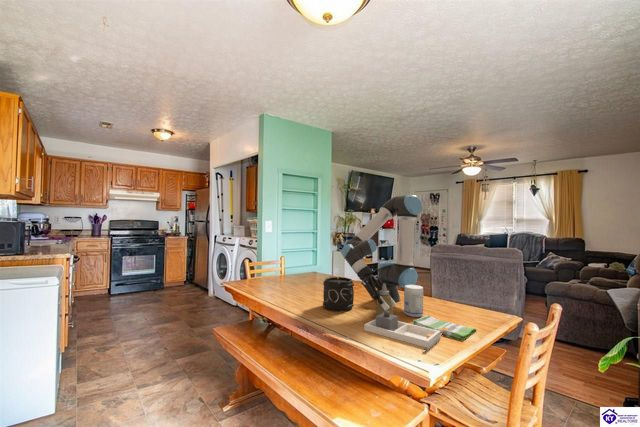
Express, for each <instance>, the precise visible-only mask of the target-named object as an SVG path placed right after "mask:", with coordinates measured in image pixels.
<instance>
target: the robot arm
mask: <svg viewBox="0 0 640 427" xmlns="http://www.w3.org/2000/svg"><path fill="white" fill-rule="evenodd" d="M422 211H423V203H422V200H421V199H420V198H419V196H417V195H415V194H414V195H413V194H407V195H398V196H397V195H396V196H394V197H392V198H390V199H389V200H388V201H386V202H385V203H384V204H383V205H382V206H381V207H380V208H379V211H378V212H377V213H376V214H375V215H374V216H373V217H372V218H371V219H370V220H369V221H368V222H367V223H366V224H365V225H364V226H363V227H362V228H361V229H360V230H359V231H358V232H357V233H356V234H355V235H354V236H353V237H352V238H351V239H347V240H345V242H344V244H343V247H342V249H341V250H340V253H341V256H342V257H343V258H344V260H346V262H347V264H348V265H349V266H350V267H351V269H352V270H353V272H354V273H355V274H356V275H357V277H358V278H359V280H360V281H361V285H362V286H363V287H364V288H365V290H366V291H367V293H368V294H369V296H370V298H371V299H372V300H374V301H376V302H377V301H378V302H379V303H380V305H381V306H382V307H383V309H384V310H385V311H386V310H387V309H389V308H390V307H389V306H388V304H387V303H386V302H385V301H384V299H383V298H382V297H381V296H379V295H380V294H379V291H380V290H382V286H383V283H385V284H386V288H387V290H388V291H389V295H390V296H391V302H392V309H393V308H395V306H396V305H397V303H398V302H400V301H401V296H400V292H399V289H398V287H400V288H405V286H406V285H416V283H417V281H418V277H419V275H418V272H417V270H416V269H415V264H414V263H413V247H414V245H413V244H414V230H415V222H416V220H417V219H418V215H420V213H421V212H422ZM394 217H397V219H398V235H397V236H398V237H397V248H396V250H397V251H396V260H395V261H391V262H389V261H387V262H380V263H379V264H378V265H377V276H374V275H373V274H372V273H373V270H372V269H371V268H370V267H369V266H368V264H367V263H366V261H365V260H364V259H363V258H365V257H367V256H369V255H371V254H373V253H374V252H376V251H377V247H378V246H377V243H376V242H375V240H373V239H372V237H373V236H374V235H375V234H376V233H377V232H378V231H379V230H380V229H381V228H382V226H384V225H385V224H386V223H387V221H388V220H390V221H391V220H392V219H393V218H394Z"/></svg>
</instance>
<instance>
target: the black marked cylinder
mask: <svg viewBox="0 0 640 427" xmlns="http://www.w3.org/2000/svg"><path fill="white" fill-rule="evenodd" d="M322 284H323V301H322V306H323V307H324V309H325V310H327V311H329V312H339V313H340V312H349V311H351V310H353V307H354V305H355V304H354V297H355V296H354V295H355V294H354V292H355V291H354V286H355V284H354V281H353V280H352V278H349V277H342V276H341V277H340V276H339V277H337V276H332V277H331V276H330V277H326V278H325V279H324V281H323V283H322Z"/></svg>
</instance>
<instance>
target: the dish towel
mask: <svg viewBox="0 0 640 427" xmlns="http://www.w3.org/2000/svg"><path fill="white" fill-rule="evenodd" d="M412 321H413V323H412V325H417V326H421V327H425V328H429V329H433V330H438V331H440V336H444V337H446V338H449V339H450V338H451V339H454V340H458V341H460V342H462V341H464V340H466V339H467V338H469V337H470V336H472V335H473V334H474V333H475V332H477V329H476V328H475V327H473V328H472V327H469V326H464V325H461V324H458V323H457V324H456V323H453V322H449V321H447V320H446V321H445V320H441V319H438V318H435V317H433V316H431V315H423V316H421V317H420V318H417V319H413V320H412ZM443 328H444V329H443Z"/></svg>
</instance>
